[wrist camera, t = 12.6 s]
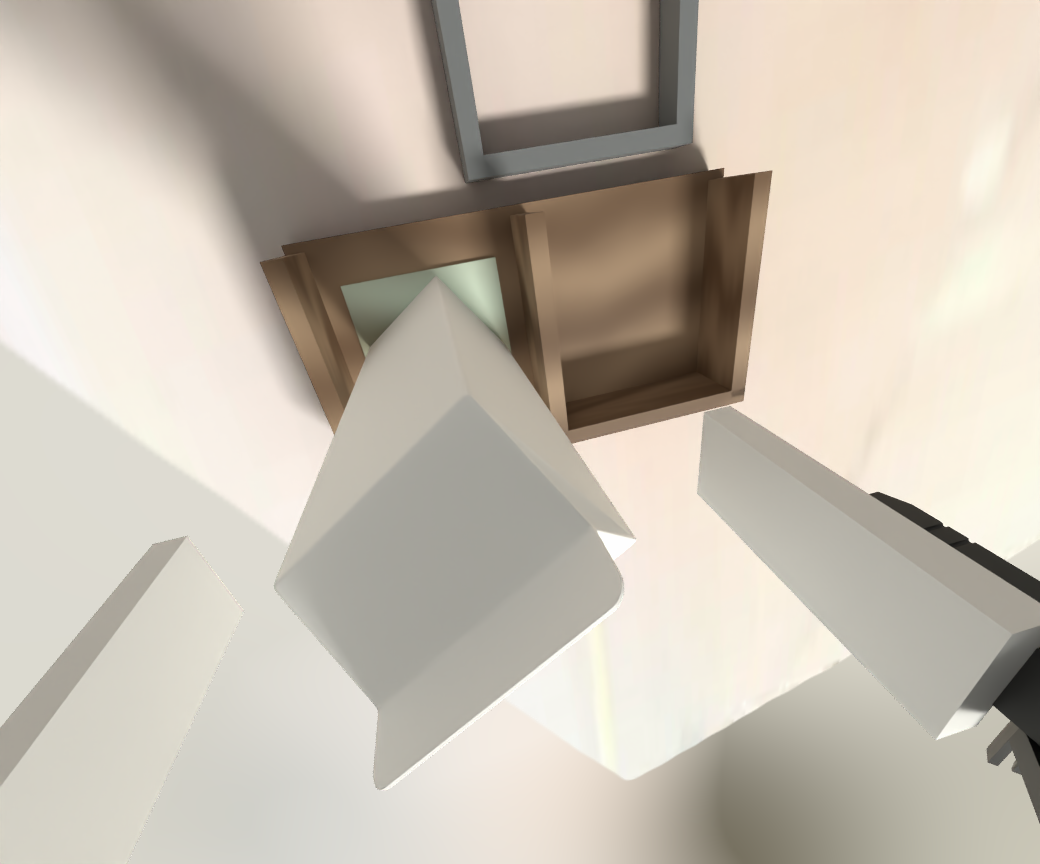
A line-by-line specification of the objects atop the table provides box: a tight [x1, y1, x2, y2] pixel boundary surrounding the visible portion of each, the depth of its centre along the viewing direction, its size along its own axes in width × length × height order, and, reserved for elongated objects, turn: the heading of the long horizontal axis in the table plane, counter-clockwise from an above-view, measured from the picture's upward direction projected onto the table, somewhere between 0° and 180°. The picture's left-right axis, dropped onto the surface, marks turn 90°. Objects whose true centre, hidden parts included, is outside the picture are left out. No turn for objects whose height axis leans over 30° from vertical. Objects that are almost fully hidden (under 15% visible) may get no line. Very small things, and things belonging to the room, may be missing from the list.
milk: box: [274, 276, 636, 791], centre depth 16 cm, size 6×6×22 cm
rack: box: [260, 168, 772, 443], centre depth 26 cm, size 14×26×6 cm, turn 99°
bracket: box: [431, 0, 699, 183], centre depth 20 cm, size 12×13×2 cm
